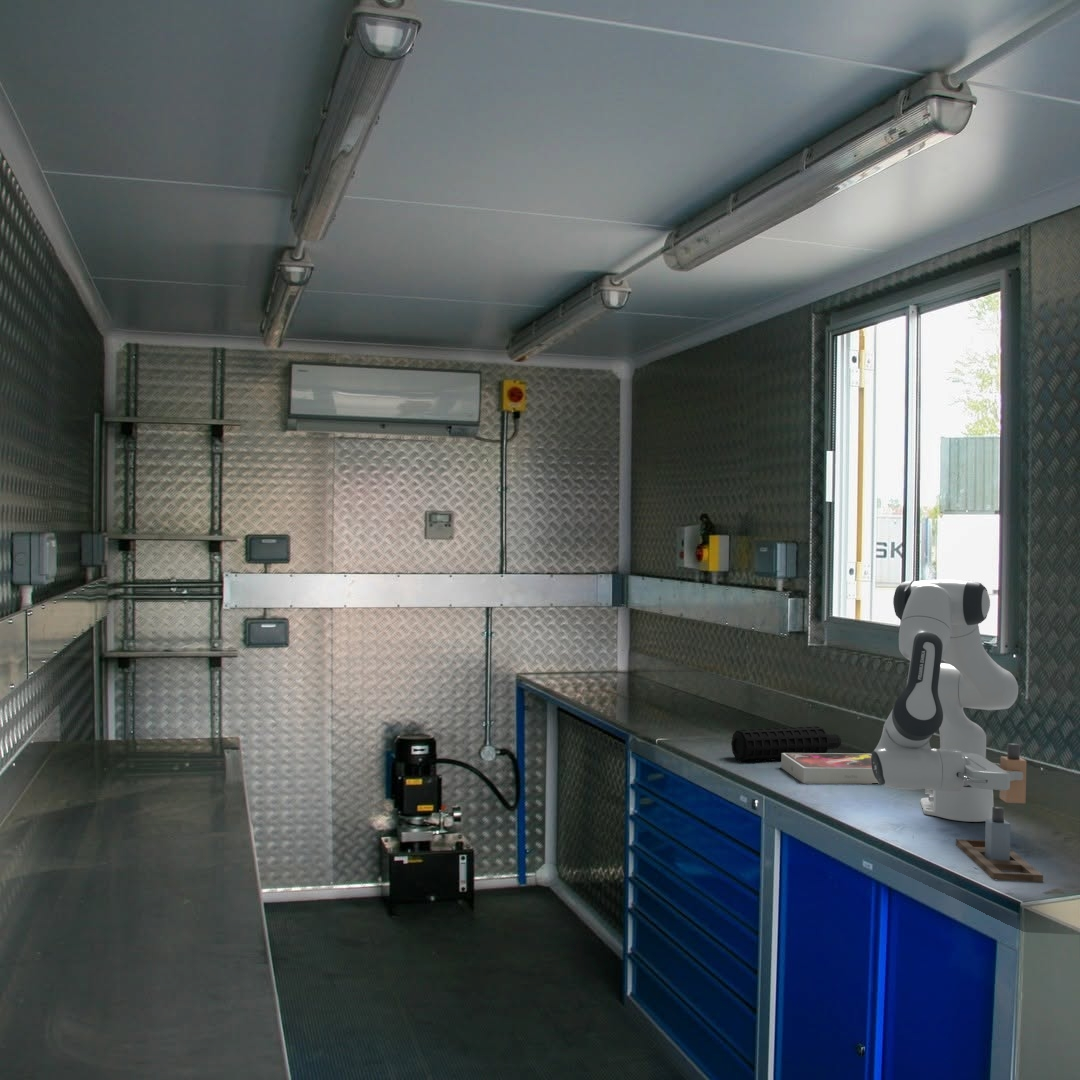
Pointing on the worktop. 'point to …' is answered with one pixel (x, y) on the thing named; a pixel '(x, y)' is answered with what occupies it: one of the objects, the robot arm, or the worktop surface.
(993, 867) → the plug dock
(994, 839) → the slate plug
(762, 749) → the roller
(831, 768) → the product packaging
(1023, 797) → the terracotta plug
